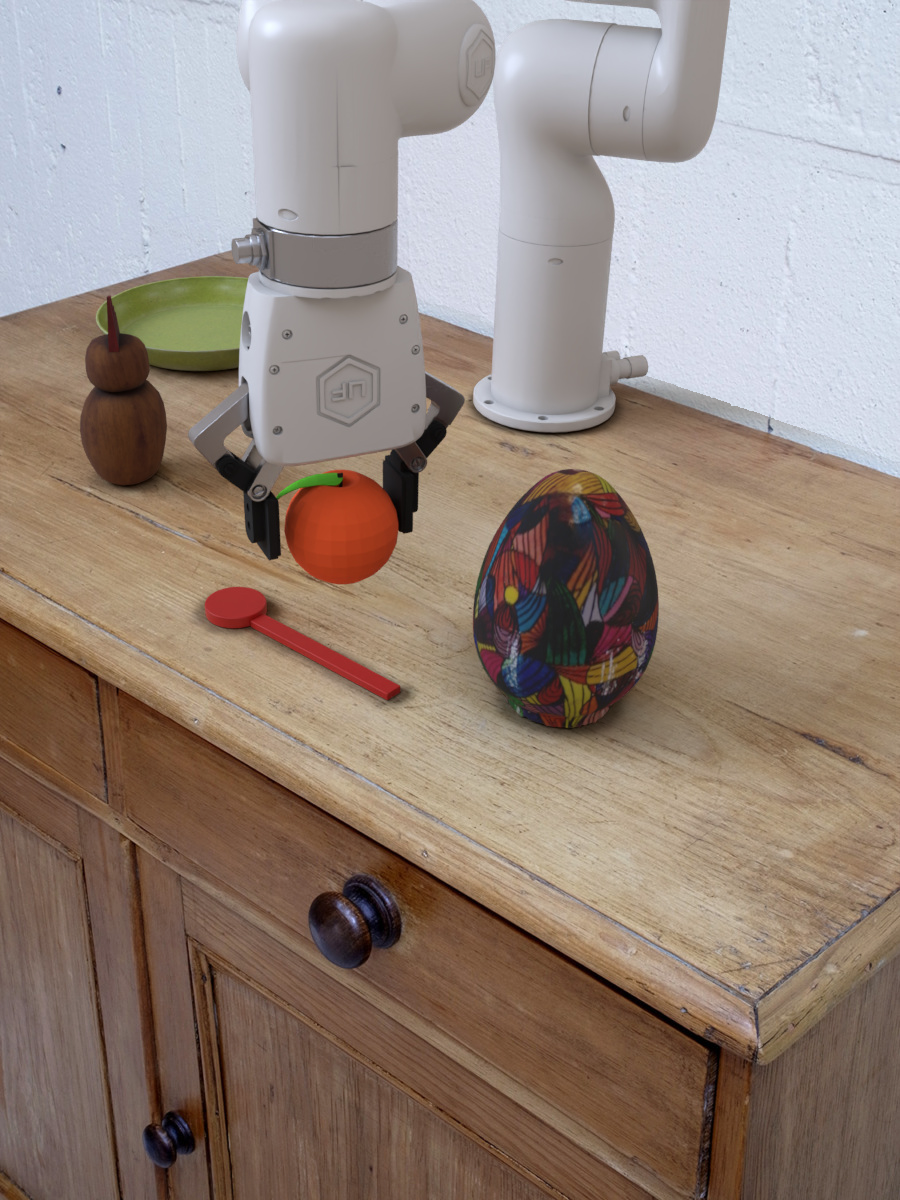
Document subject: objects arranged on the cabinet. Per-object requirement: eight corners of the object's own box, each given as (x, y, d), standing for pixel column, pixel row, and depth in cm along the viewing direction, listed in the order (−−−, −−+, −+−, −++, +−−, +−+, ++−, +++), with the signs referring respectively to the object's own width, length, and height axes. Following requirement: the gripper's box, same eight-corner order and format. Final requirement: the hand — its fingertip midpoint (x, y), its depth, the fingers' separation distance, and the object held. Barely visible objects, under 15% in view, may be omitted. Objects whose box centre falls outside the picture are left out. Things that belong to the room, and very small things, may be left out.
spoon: (416, 682, 80) (416, 671, 80) (371, 711, 77) (371, 700, 77) (238, 590, 89) (237, 579, 88) (192, 613, 86) (191, 602, 86)
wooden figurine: (147, 498, 100) (127, 307, 92) (76, 489, 100) (50, 299, 93) (181, 461, 105) (164, 277, 97) (113, 453, 106) (92, 270, 98)
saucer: (141, 299, 138) (138, 269, 136) (334, 314, 136) (334, 283, 134) (65, 372, 120) (61, 339, 119) (285, 390, 118) (284, 356, 116)
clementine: (272, 611, 78) (264, 504, 74) (268, 554, 84) (260, 452, 80) (406, 601, 79) (404, 495, 75) (392, 545, 85) (391, 445, 81)
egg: (632, 649, 84) (658, 433, 76) (661, 753, 75) (693, 520, 67) (465, 648, 83) (474, 431, 75) (474, 753, 74) (484, 519, 66)
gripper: (189, 289, 65) (212, 594, 74) (503, 254, 71) (488, 537, 80) (150, 247, 70) (176, 535, 80) (444, 218, 77) (437, 486, 86)
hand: (333, 534), depth 80 cm, fingers closed on clementine, 8 cm apart
